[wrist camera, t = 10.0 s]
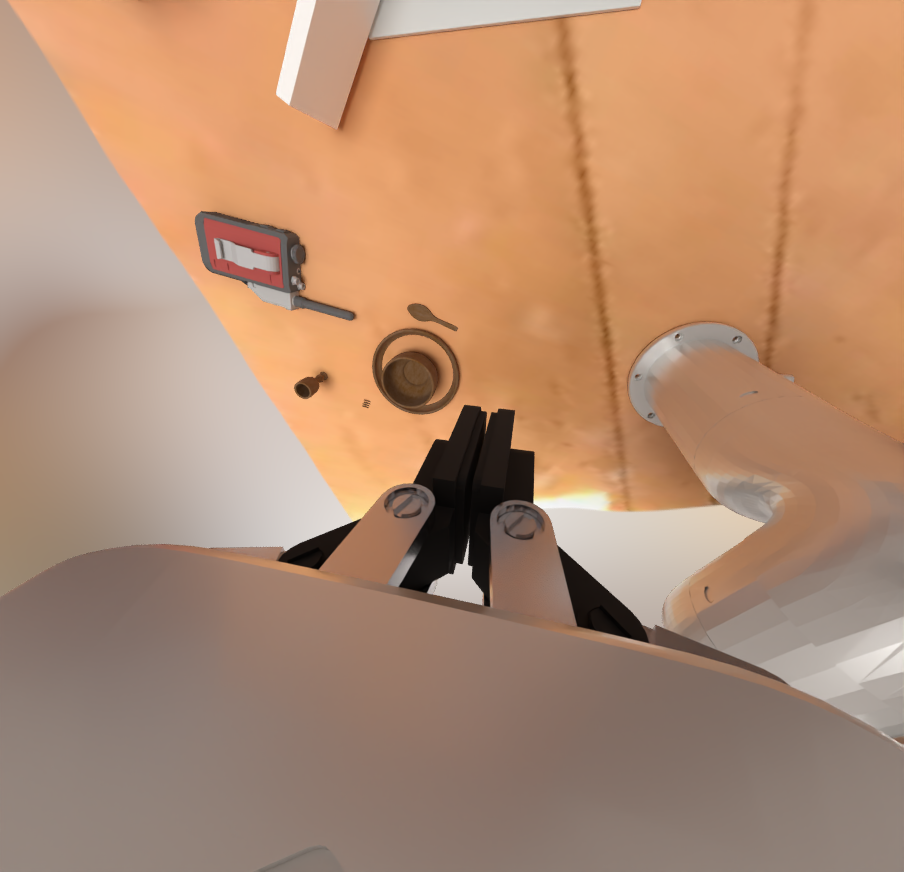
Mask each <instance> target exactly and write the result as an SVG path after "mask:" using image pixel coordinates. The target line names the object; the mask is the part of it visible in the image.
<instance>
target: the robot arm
mask: <svg viewBox="0 0 904 872" xmlns="http://www.w3.org/2000/svg"><path fill="white" fill-rule="evenodd" d="M677 334H678V336H677V337H675V336H676V335H677ZM734 337H735V338H734ZM733 338H734V339H733ZM732 339H733V340H732ZM637 374H639V375H638V376H636V377H635V375H637ZM793 382H794V377H793V375H789V374H778V373H776V372H775V371H773V370H771V369H769V368H768V367H766V366H764V365H763V364H761V363H759V357H758V351H757V349H756V347H755V345H754V343H753V342H752V340H751V339H750V338H749V337H748V336H747V335H746V334H744V333H743V332H741V331H740V330H738V329H736V328H734V327H732V326H729V325H726V324H722V323H718V322H697V323H690V324H687V325H683V326H680V327H677V328H675V329H673V330H670V331H668V332H666V333H664V334H663V335H661V336H660V337H658V338H657V339H655V340H654V341H653V342H651V343H650V344H649V345H648V346H647V347H646V348H645V349H644V350H643V351H642V352H641V354H640V355H639V356H638V357H637V359H636V361H635V362H634V364H633V366H632V368H631V371H630V374H629V377H628V385H627V388H628V395H629V398H630V401H631V403H632V405H633V407H634V409H635V410H636V411H637V412H638V413H639V415H640V416H641V417H643V418H644V419H645V420H647V421H649V422H651V423H653V424H655V425H658V426H662V427H665V429H666V430H667V432H668V433H669V435H670V436H671V438H672V439H673V441H674V442H675V444H676V445H677V447H678V448H679V450H680V451H681V453H682V454H683V456H684V457H685V459H686V460H687V462H688V463H689V465H690V466H691V468H692V469H693V471H694V472H695V474H696V475H697V477H698V478H699V479H700V481H701V482H702V484H703V485H704V487H705V488H706V490H707V491H708V492H709V493H710V494H711V495H712V496H713V497H714V498H715V499H716V500H717V501H718V502H719V503H721V504H722V505H724V506H725V507H727V508H728V509H730V510H732V511H734V512H736V513H738V514H740V515H743V516H745V517H748V518H750V519H753V520H756V521H760V522H763V523H766V524H765V525H763V526H762V527H761V528H759V529H758V530H756V531H755V532H754V533H752V534H751V535H749V536H748V537H746V538H745V539H744V541H742V542H741V543H739V544H738V545H736V546H734V547H733V548H732V549H730V550H729V551H727V552H725V553H724V554H722V555H721V556H719V557H718V558H716V559H715V560H713V561H712V562H710V563H709V564H707V565H706V566H704V567H702V568H701V569H699V570H698V571H696V572H695V573H694V574H693V575H691V576H690V577H688V578H687V579H685V580H684V581H683V582H681V583H680V584H679V585H677V586H676V587H675V588H674V589H673V590H672V591H671V592H670V594H669V595H668V596H667V598H666V600H665V602H664V605H663V609H662V623H663V628H662V627H660V626H657V625H655V626H654V628H653V629H651V628H648V627H646V626H643V625H642V624H641V623H640V621H639V620H638V619H637V618H636V616H634V614H633V613H632V612H631V611H630V610H629V609H628V608H627V607H626V606H625V605H623V604H622V603H621V602H620V601H619V600H618V599H617V598H615V597H614V596H613V595H612V594H611V593H610V592H609V591H608V590H607V589H606V588H604V587H603V586H602V585H601V584H600V583H599V582H598V581H597V580H596V579H594V578H593V577H592V576H591V575H590V574H589V573H588V572H587V571H586V570H584V569H583V568H582V567H581V566H580V565H579V564H578V563H577V562H576V561H574V560H573V559H572V558H571V557H570V556H569V555H568V554H567V553H566V552H564V551H563V550H562V549H561V548H560V547H559V546H558V545H557V543H556V539H555V535H554V531H553V527H552V523H551V521H550V518H549V516H548V515H547V514H546V513H545V512H544V510H542V509H541V508H539V507H538V506H536V505H535V504H533V496H534V452H533V451H525V450H517V449H510V448H511V440H512V431H513V423H514V415H515V410H506V409H498V413H494V412H491V416H490V420H489V423H488V427H487V431H486V418H487V412H485V411H481V407H478V406H469V405H464V407H463V409H462V411H461V414H460V416H459V418H458V421H457V423H456V425H455V427H454V430H453V432H452V434H451V437H450V439H449V441H447V440H439V439H436V440H435V441H434V443H433V445H432V447H431V449H430V451H429V453H428V455H427V457H426V459H425V461H424V463H423V465H422V467H421V469H420V471H419V473H418V475H417V477H416V479H415V481H414V483H413V484H401V485H397V486H394V487H392V488H390V489H388V490H387V491H386V492H384V493H383V494H382V495H381V496H380V498H379V499H378V500H377V501H376V502H375V504H374V505H373V506H372V507H371V508H370V509H369V511H368V512H367V513H366V514H365V515H364V517H363V518H362V519H359V520H357V521H354V522H352V523H349V524H347V525H344V526H342V527H339V528H337V529H334V530H332V531H329V532H327V533H325V534H322V535H319V536H317V537H314V538H312V539H309V540H307V541H304V542H302V543H300V544H298V545H296V546H294V547H292V548H290V549H289V550H288V551H284V549H283V547H236V548H235V547H234V548H202V547H195V546H185V545H171V544H152V545H151V544H149V545H131V546H124V547H116V548H109V549H104V550H99V551H95V552H90V553H86V554H83V555H79V556H75V557H72V558H70V559H67V560H65V561H62V562H60V563H58V564H56V565H54V566H52V567H50V568H48V569H46V570H44V571H42V572H41V573H39V574H37V575H36V576H34V577H32V578H31V579H29V580H27V581H26V582H24V583H23V584H21V585H19V586H17V587H15V588H14V589H12V590H10V591H9V592H7V593H6V594H4V595H3V596H1V597H0V872H904V444H903V443H901V442H899V441H897V440H895V439H893V438H891V437H889V436H887V435H885V434H884V433H882V432H880V431H878V430H876V429H874V428H872V427H870V426H868V425H867V424H865V423H863V422H861V421H859V420H857V419H855V418H853V417H852V416H850V415H848V414H847V413H845V412H843V411H841V410H840V409H838V408H836V407H835V406H833V405H831V404H829V403H828V402H826V401H824V400H822V399H821V398H819V397H817V396H816V395H814V394H812V393H811V392H809V391H807V390H805V389H804V388H802V387H800V386H799V385H797V384H795V383H793ZM649 413H650V414H649ZM485 432H486V435H485ZM468 539H469V556H468V565H469V566H472V579H473V580H474V581H475V583H476V584H477V585H478V586H479V588H480V589H481V591H482V592H483V599H482V602H483V603H482V605H478V604H473V603H469V602H464V601H460V600H455V599H450V598H446V597H442V596H437V595H433V593H434V591H435V589H436V585H437V579H439V578H441V577H442V576H444V575H446V574H448V573H449V574H453V573H454V570H455V565H456V563H459V564H463V561H464V557H465V552H466V548H467V544H468Z"/></svg>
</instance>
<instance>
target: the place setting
mask: <svg viewBox="0 0 904 872" xmlns="http://www.w3.org/2000/svg"><path fill="white" fill-rule="evenodd" d="M407 309H408V311H409V313H410V314H411V315H412V316H413V317H414V318H415V319H417V320H419V321H434V322H437V323H439V324H441V325H443V326H445V327H448V328H450V329H452V330H454V331H457V329H458V327H456V326H454V325H452V324H449V323H447V322H444V321H442V320H440V319H438V318H436V317H435V316H433V314H432V313H431V312H430V310H429V309H428V308H426V307H425V306H423V305H420V304H411V305H409V306H408V308H407ZM405 335H421V336H425V337H427V338H430V339H432V340H433V341H435V342H436V343H438V344H439V345H440V346H441V347H442V348H443V349H444V350H445V352H446V353H447V355H448V356H449V358H450V360H451V363H452V367H453V382H452V385H451V388H450V390H449V392H448V393H447V394H446V395H445V397H444V398H442V399H441V400H440V401H438V402H436V403H433V404H429V405H425V404H426V403H428V401H429V400H430V399H431V397H432V396H433V394H434V392H435V390H436V387H437V383H438V375H437V371H436V369H435V367H434V365H433V363H432V362H431V361H430V360H429V359H428V358H427V357H425V356H424V355H422V354H420V353H416V352H404V353H401V354H399V355H397V356H395V357H394V358H393V359H392V360H391V361H389V362H388V363H387V364H386V366H385V367H384V369H383V371H382V360H383V355H384V353H385V351H386V349H387V347H388V346H389V345H390V344H391V343H392V342H393V341H394V340H396V339H397V338H399V337H402V336H405ZM372 369H373V376H374V379H375V382H376V384H377V387H378V388H379V390H380V392H381V393H382V394H383V396H384V397H385V398H386V399H387V400H388V401H389V402H390V403H391V404H393V405H394V406H396V407H397V408H399V409H401V410H403V411H406V412H409V413H412V414H430V413H434V412H436V411H439V410H440V409H442V408H444V407H445V406H446V405H447V404H448V403H449V402H450V401H451V400H452V398H453V396H454V395H455V392H456V390H457V386H458V381H459V372H458V366H457V363H456V360H455V358H454V356H453V354H452V352H451V351H450V349H449V348H448V347H447V345H446V344H445V343H444V342H443V341H442V340H440V339H439V338H438V337H436V336H435V335H433V334H431V333H429V332H426V331H423V330H419V329H403V330H399V331H396V332H394V333H392V334H390V335H388V336H387V337H386V338H384V339H383V340H382V341H381V343H380V344H379V345H378V347H377V349H376V351H375V353H374V357H373V364H372ZM327 378H328V376H327V374H326V373H325V372H321V373H320V375H317V376H316V378H313V377H306V378H304V379H302V380H300V381H299V382H297V383H296V384H295V386H294V389H295V392H296V394H297V395H298V396H299V397H301V398H303V399H308V398H310V397H311V396H312V395H314V394H315V393H316V392H317V391H318V389H319V383H320V382H323V380H326V379H327ZM365 401H368V400H365ZM368 402H370V401H368ZM364 403H367V402H364ZM367 404H370V403H367ZM367 404H364V405H367ZM367 406H369V405H367ZM363 407H366V406H363ZM366 408H368V407H366Z"/></svg>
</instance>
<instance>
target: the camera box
mask: <svg viewBox="0 0 904 872" xmlns="http://www.w3.org/2000/svg"><path fill="white" fill-rule="evenodd" d="M640 5H641V0H380V2H379V5H378V8H377V11H376V14H375V17H374V20H373V23H372V26H371V29H370V32H369V35H368V38H369V39H370V40H378V39H386V38H394V37H403V36H411V35H420V34H428V33H436V32H445V31H453V30H462V29H470V28H479V27H487V26H495V25H504V24H512V23H521V22H529V21H538V20H546V19H554V18H563V17H571V16H580V15H588V14H597V13H605V12H613V11H622V10H630V9H639V7H640Z"/></svg>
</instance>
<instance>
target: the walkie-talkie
mask: <svg viewBox="0 0 904 872" xmlns="http://www.w3.org/2000/svg"><path fill="white" fill-rule="evenodd" d="M195 225H196V230H197V236H198V241H199V246H200V251H201V256H202V261H203V263H204V265H205V267H206V268H207V269H208V270H209V271H211V272H212V273H216V274H219V275H223V276H226V277H230V278H233V279H237V280H240V281H242V282H244V283H245V284H246V285H248V288H250V289H251V290H252V291H253V292H254V293H255V294H256V295H257V296H258V297H259V298H260V299H261V300H262V301H264V302H267V303H271V304H274V305H278V306H281V307H285V308H286V309H288V310H291V311H292V310H295V309H298V308H303V309H304V308H307V309H311V310H314V311H318V312H321V313H325V314H328V315H332V316H335V317H339V318H343V319H346V320H353V318H354V315H353V313H351V312H348V311H345V310H341V309H338V308H334V307H331V306H327V305H323V304H320V303H316V302H313V301H309V300H306V299H305V298H303V297H299V290H304V289H305V284H304V283H302V281H301V270H300V264H302V263H303V261H304V259H305V252H304V249H303V247H302V246H301V245H299V237H298V236H297V235H296V234H295V233H291V232H289V231H287V230H284V229H276V228H273V226H269V225H259V224H258V223H254V222H250V221H246V220H242V219H238V218H234V217H230V216H228V215H225V214H221V213H217V212H203V211H201V212H200V213H199V214H198V215H197V216H196V217H195Z"/></svg>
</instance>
